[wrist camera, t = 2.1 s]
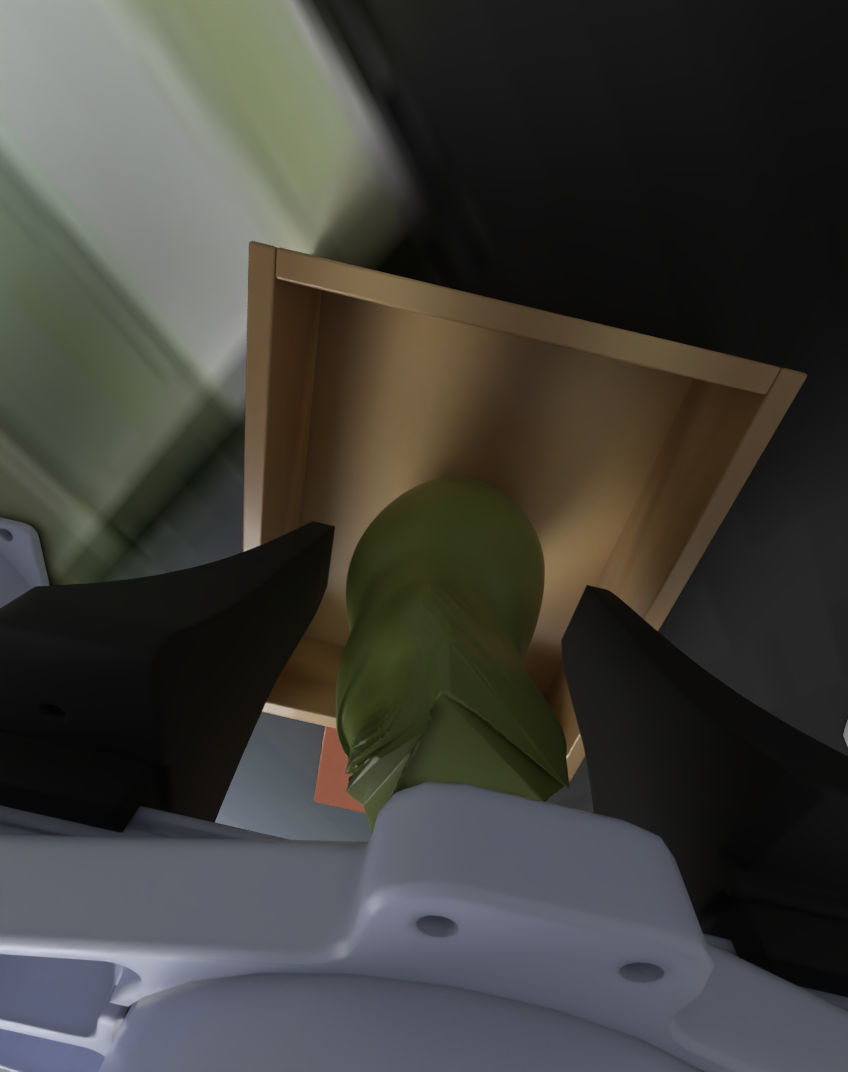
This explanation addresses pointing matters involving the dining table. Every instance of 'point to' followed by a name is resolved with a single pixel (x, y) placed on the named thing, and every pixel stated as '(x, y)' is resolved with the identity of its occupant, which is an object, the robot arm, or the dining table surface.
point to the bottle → (846, 733)
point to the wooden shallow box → (487, 442)
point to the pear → (446, 650)
